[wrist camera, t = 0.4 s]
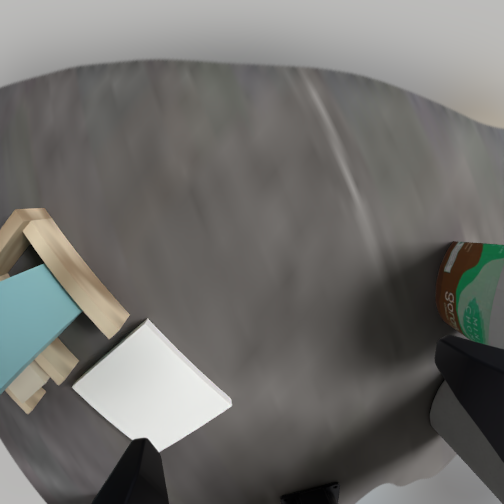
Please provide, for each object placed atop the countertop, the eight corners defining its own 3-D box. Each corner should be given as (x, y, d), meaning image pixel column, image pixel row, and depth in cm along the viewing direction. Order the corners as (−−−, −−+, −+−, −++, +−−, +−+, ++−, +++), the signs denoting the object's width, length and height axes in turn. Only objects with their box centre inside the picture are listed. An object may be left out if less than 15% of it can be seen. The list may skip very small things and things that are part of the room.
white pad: (230, 398, 23) (231, 405, 22) (154, 448, 22) (153, 455, 21) (147, 318, 21) (145, 323, 20) (75, 381, 21) (71, 387, 20)
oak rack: (129, 314, 21) (114, 336, 17) (41, 396, 20) (23, 421, 16) (44, 208, 19) (15, 209, 15) (-29, 310, 18) (-55, 324, 14)
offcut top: (55, 370, 19) (45, 383, 17) (32, 391, 19) (22, 403, 17) (-1, 298, 17) (-15, 306, 15) (-20, 325, 17) (-34, 333, 15)
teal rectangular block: (94, 300, 20) (-1, 389, 8) (60, 334, 20) (-29, 426, 8) (59, 257, 19) (-60, 308, 7) (28, 294, 19) (-79, 360, 7)
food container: (403, 277, 23) (493, 314, 13) (446, 228, 23) (537, 242, 13) (450, 361, 26) (515, 405, 16) (485, 317, 26) (553, 349, 16)
